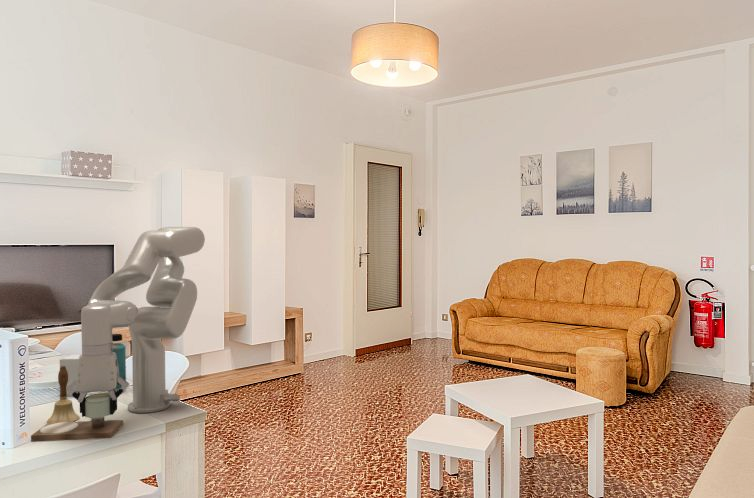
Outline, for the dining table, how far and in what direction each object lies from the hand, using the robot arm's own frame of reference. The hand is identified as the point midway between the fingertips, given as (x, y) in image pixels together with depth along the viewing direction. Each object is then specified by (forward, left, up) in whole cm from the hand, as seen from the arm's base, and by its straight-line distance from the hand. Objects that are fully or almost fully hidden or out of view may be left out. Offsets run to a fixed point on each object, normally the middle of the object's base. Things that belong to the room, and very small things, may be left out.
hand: (98, 413), depth 154 cm
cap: (0, 0, 0) cm, 0 cm away
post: (0, 0, -4) cm, 4 cm away
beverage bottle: (+8, -40, -5) cm, 41 cm away
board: (+5, 0, -5) cm, 7 cm away
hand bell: (+14, -11, -5) cm, 19 cm away
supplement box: (+21, -40, -5) cm, 45 cm away
